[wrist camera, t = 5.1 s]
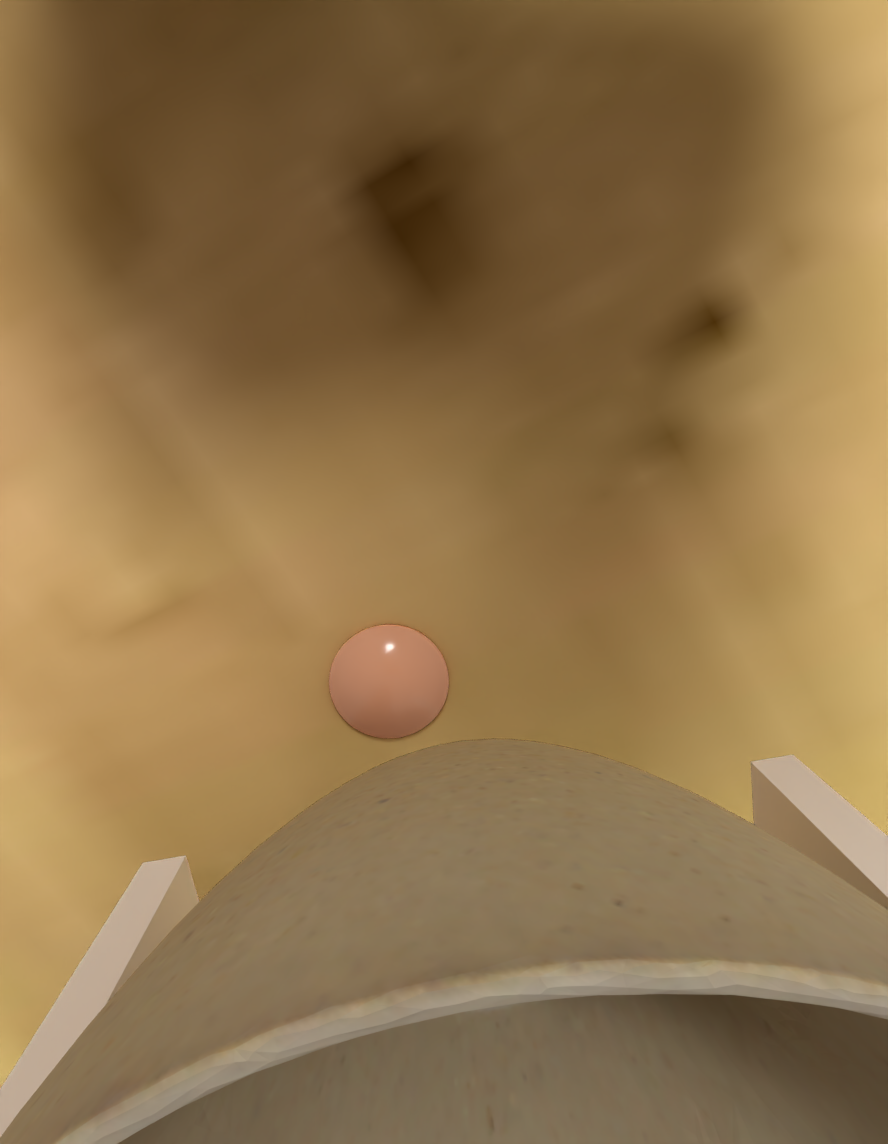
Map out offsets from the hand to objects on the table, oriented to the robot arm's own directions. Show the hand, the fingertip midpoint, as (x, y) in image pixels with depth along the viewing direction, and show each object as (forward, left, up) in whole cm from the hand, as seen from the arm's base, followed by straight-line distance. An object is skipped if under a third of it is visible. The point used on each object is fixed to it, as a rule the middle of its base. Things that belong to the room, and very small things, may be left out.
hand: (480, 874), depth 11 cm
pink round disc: (+2, -3, -15) cm, 16 cm away
